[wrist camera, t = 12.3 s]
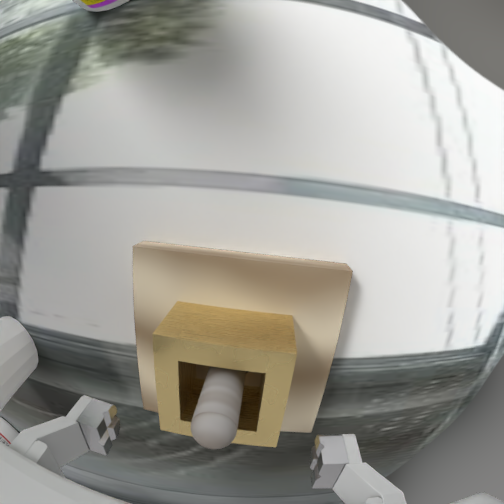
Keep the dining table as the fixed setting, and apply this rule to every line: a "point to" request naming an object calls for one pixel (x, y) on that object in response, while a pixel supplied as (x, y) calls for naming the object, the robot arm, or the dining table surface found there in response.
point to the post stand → (244, 298)
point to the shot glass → (14, 357)
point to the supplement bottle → (99, 4)
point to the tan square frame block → (224, 365)
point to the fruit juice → (7, 432)
